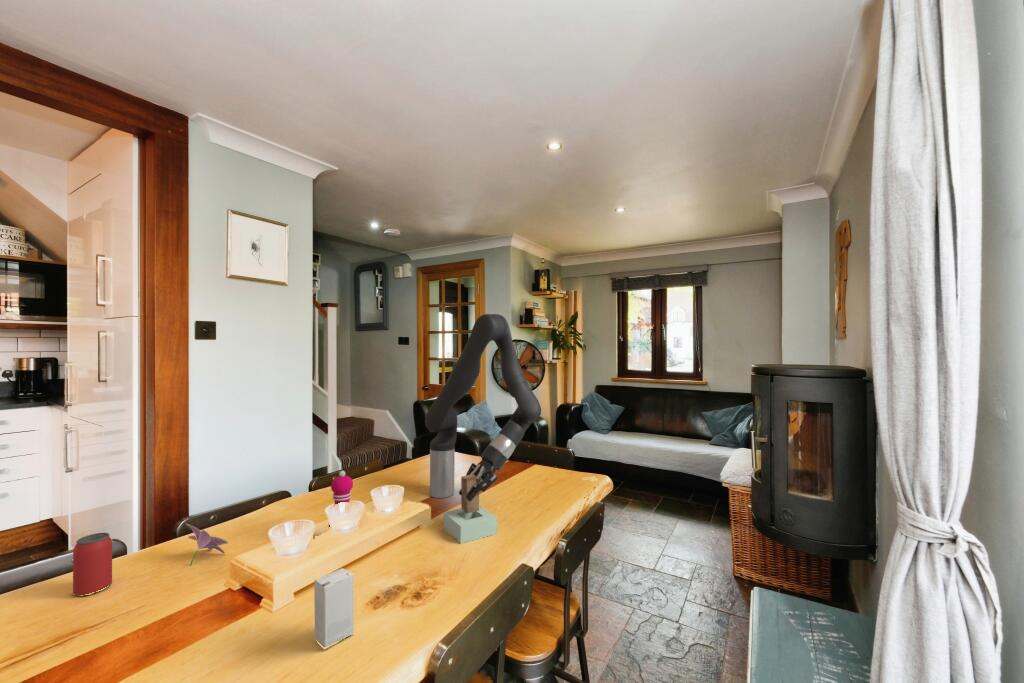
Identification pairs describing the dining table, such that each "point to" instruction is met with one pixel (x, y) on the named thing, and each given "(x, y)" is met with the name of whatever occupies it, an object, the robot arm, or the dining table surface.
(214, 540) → the lily
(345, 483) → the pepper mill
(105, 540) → the beer can
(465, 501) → the peg
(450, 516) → the socket
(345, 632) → the skincare box
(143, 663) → the dining table surface
